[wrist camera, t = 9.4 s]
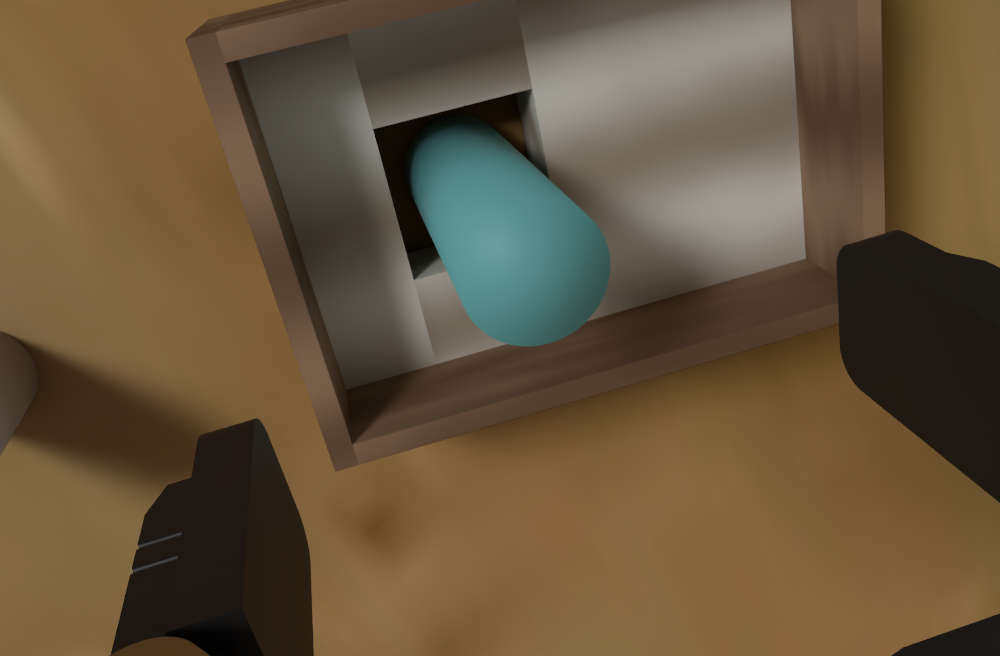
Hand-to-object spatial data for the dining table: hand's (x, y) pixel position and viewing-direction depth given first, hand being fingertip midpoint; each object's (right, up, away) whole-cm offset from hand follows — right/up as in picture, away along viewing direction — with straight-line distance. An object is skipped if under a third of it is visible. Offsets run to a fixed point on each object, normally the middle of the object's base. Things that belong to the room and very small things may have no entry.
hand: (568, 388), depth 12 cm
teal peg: (-2, +7, +21) cm, 23 cm away
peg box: (0, +8, +22) cm, 23 cm away
